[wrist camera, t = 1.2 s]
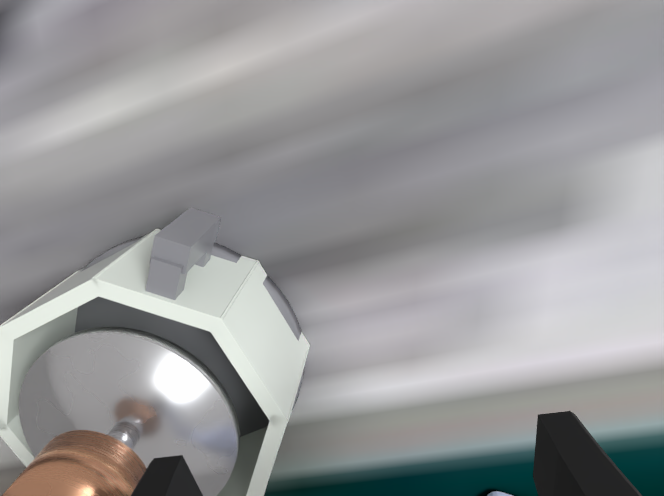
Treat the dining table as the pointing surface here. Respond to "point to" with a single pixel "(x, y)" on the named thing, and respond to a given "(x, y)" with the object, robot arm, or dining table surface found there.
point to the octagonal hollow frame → (177, 330)
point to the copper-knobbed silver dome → (122, 415)
